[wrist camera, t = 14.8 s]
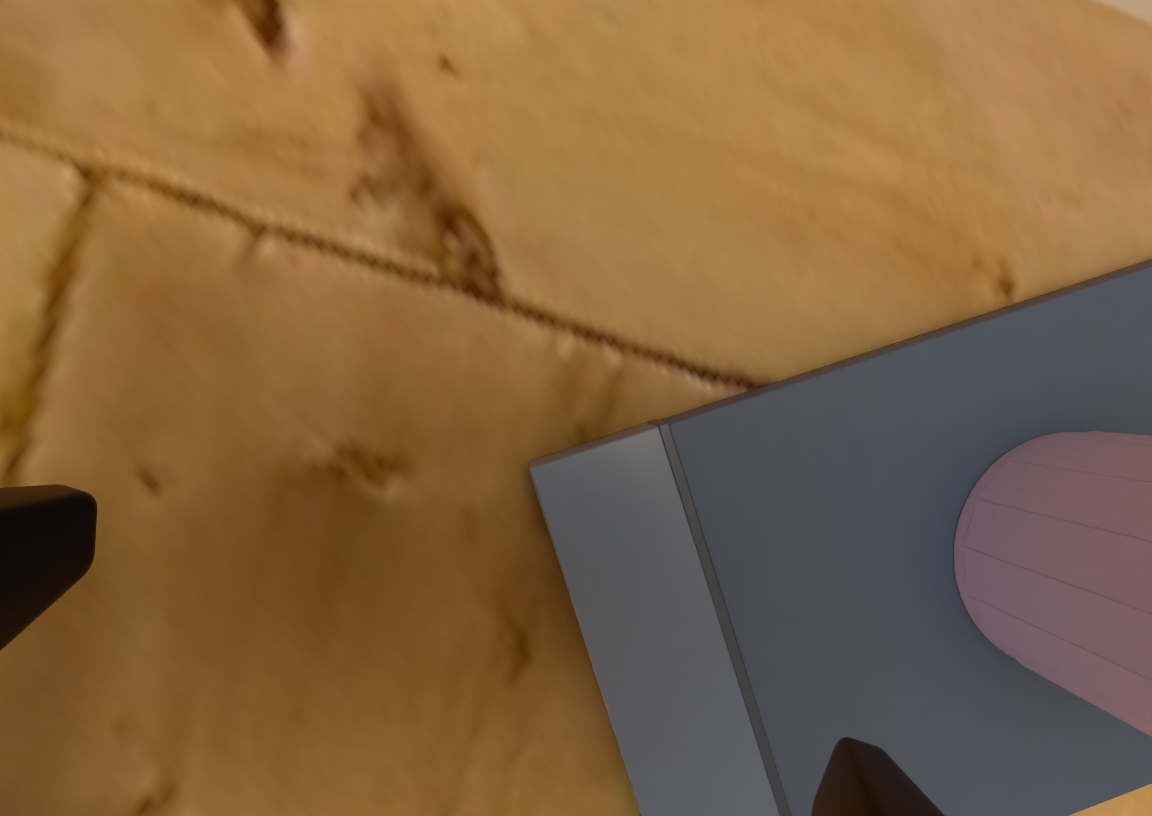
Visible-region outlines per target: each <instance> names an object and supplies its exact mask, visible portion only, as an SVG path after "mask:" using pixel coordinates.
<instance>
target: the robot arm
mask: <svg viewBox="0 0 1152 816" xmlns="http://www.w3.org/2000/svg"><path fill="white" fill-rule="evenodd" d="M96 521H97V504H96V501H95V499H94V497H93V496H92V495H91V494H89V493H87V492H84V491H81V490H78V489H74V488H71V487H68V486H65V485H40V486H26V487H11V488H0V651H1V650H2V649H3V648H4V647H5V646H6V645H7V644H8V643H10V642H11V641H12V640H13V639H14V638H15V637H16V636H17V635H18V634H20V633H21V632H22V631H23V630H24V629H25V628H26V627H27V626H29V625H30V624H31V623H32V622H33V621H34V620H35V619H36V618H37V617H39V616H40V615H41V614H42V613H43V612H44V611H45V610H46V609H47V608H49V607H50V606H51V605H52V604H53V603H54V602H55V601H56V600H57V599H59V598H60V597H61V596H62V595H63V594H64V593H65V592H66V591H67V590H69V589H70V588H71V587H72V586H73V585H74V584H75V583H76V582H78V581H79V580H80V579H81V578H82V577H83V576H84V575H85V574H86V572H87V571H88V570H89V568H90V566H91V564H92V562H93V559H94V554H95V538H96ZM811 816H945V815H944V814H943V813H942V812H941V811H940V810H939V809H938V808H937V806H936V805H935V804H934V803H933V802H932V801H931V800H930V799H929V798H928V797H927V796H926V795H925V794H924V793H923V792H922V790H921V789H920V788H919V787H918V786H917V785H916V784H915V783H914V782H913V781H912V780H911V779H910V778H909V777H908V775H907V774H906V773H905V772H904V771H903V770H902V769H901V768H900V767H899V766H898V765H897V764H896V763H895V762H894V760H893V759H892V758H891V757H890V756H889V755H888V754H887V753H886V752H885V751H884V750H883V749H881V748H880V747H878V746H875V745H872V744H869V743H866V742H862V741H859V740H856V739H853V738H850V737H844V738H842V739H840V740H839V741H838V742H837V744H836V745H835V747H834V750H833V752H832V755H831V757H830V760H829V762H828V765H827V767H826V770H825V772H824V775H823V777H822V780H821V783H820V785H819V788H818V790H817V793H816V795H815V798H814V802H813V807H812V813H811Z"/></svg>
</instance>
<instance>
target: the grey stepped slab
mask: <svg viewBox="0 0 1152 816" xmlns="http://www.w3.org/2000/svg"><path fill="white" fill-rule="evenodd" d="M1091 431H1098V432H1111V433H1124V434H1136V435H1149V436H1152V259H1151V260H1148V261H1145V262H1142V263H1139V264H1136V265H1133V266H1130V267H1127V268H1124V269H1120V270H1117V271H1114V272H1111V273H1108V274H1105V275H1102V276H1099V277H1096V278H1093V279H1090V280H1087V281H1084V282H1081V283H1078V284H1075V285H1072V286H1069V287H1065V288H1062V289H1059V290H1056V291H1053V292H1050V293H1047V294H1044V295H1041V296H1038V297H1035V298H1032V299H1029V300H1026V301H1023V302H1020V303H1017V304H1014V305H1011V306H1007V307H1004V308H1001V309H998V310H995V311H992V312H989V313H986V314H983V315H980V316H977V317H974V318H971V319H968V320H965V321H962V322H959V323H956V324H952V325H949V326H946V327H943V328H940V329H937V330H934V331H931V332H928V333H925V334H922V335H919V336H916V337H913V338H910V339H907V340H904V341H901V342H898V343H894V344H891V345H888V346H885V347H882V348H879V349H876V350H873V351H870V352H867V353H864V354H861V355H858V356H855V357H852V358H849V359H846V360H843V361H839V362H836V363H833V364H830V365H827V366H824V367H821V368H818V369H815V370H812V371H809V372H806V373H803V374H800V375H797V376H794V377H791V378H788V379H784V380H781V381H778V382H775V383H772V384H769V385H766V386H763V387H760V388H757V389H754V390H751V391H748V392H745V393H742V394H739V395H736V396H733V397H730V398H726V399H723V400H720V401H717V402H714V403H711V404H708V405H705V406H702V407H699V408H696V409H693V410H690V411H687V412H684V413H681V414H678V415H675V416H671V417H668V418H665V419H662V420H657V419H655V420H652V421H649V422H647V423H644V424H641V425H638V426H635V427H632V428H629V429H626V430H623V431H620V432H617V433H614V434H611V435H608V436H605V437H602V438H599V439H595V440H592V441H589V442H586V443H583V444H580V445H577V446H574V447H571V448H568V449H565V450H562V451H559V452H556V453H553V454H550V455H547V456H543V457H540V458H537V459H534V460H531V461H529V462H528V468H529V472H530V476H531V479H532V482H533V485H534V488H535V491H536V494H537V497H538V500H539V503H540V506H541V509H542V513H543V516H544V519H545V522H546V525H547V528H548V531H549V534H550V537H551V540H552V543H553V546H554V549H555V553H556V556H557V559H558V562H559V565H560V568H561V571H562V574H563V577H564V580H565V583H566V586H567V590H568V593H569V596H570V599H571V602H572V605H573V608H574V611H575V614H576V617H577V620H578V623H579V627H580V630H581V633H582V636H583V639H584V642H585V645H586V648H587V651H588V654H589V657H590V660H591V664H592V667H593V670H594V673H595V676H596V679H597V682H598V685H599V688H600V691H601V694H602V697H603V700H604V704H605V707H606V710H607V713H608V716H609V719H610V722H611V725H612V728H613V731H614V734H615V737H616V741H617V744H618V747H619V750H620V753H621V756H622V759H623V762H624V765H625V768H626V771H627V774H628V778H629V781H630V784H631V787H632V790H633V793H634V796H635V799H636V802H637V805H638V808H639V811H640V815H641V816H811V813H812V807H813V802H814V798H815V795H816V793H817V790H818V788H819V785H820V783H821V780H822V777H823V775H824V772H825V770H826V767H827V765H828V762H829V760H830V757H831V755H832V752H833V750H834V747H835V745H836V744H837V742H838V741H839V740H840V739H842V738H844V737H850V738H853V739H856V740H859V741H862V742H866V743H869V744H872V745H875V746H878V747H880V748H881V749H883V750H884V751H885V752H886V753H887V754H888V755H889V756H890V757H891V758H892V759H893V760H894V762H895V763H896V764H897V765H898V766H899V767H900V768H901V769H902V770H903V771H904V772H905V773H906V774H907V775H908V777H909V778H910V779H911V780H912V781H913V782H914V783H915V784H916V785H917V786H918V787H919V788H920V789H921V790H922V792H923V793H924V794H925V795H926V796H927V797H928V798H929V799H930V800H931V801H932V802H933V803H934V804H935V805H936V806H937V808H938V809H939V810H940V811H941V812H942V813H943V814H944V815H945V816H1068V815H1071V814H1073V813H1076V812H1078V811H1081V810H1084V809H1086V808H1089V807H1091V806H1094V805H1097V804H1099V803H1102V802H1105V801H1107V800H1110V799H1112V798H1115V797H1118V796H1120V795H1123V794H1125V793H1128V792H1131V791H1133V790H1136V789H1138V788H1141V787H1144V786H1146V785H1149V784H1151V783H1152V737H1151V736H1149V735H1148V734H1146V733H1144V732H1142V731H1140V730H1139V729H1137V728H1135V727H1133V726H1131V725H1129V724H1128V723H1126V722H1124V721H1122V720H1120V719H1119V718H1117V717H1115V716H1113V715H1111V714H1110V713H1108V712H1106V711H1104V710H1102V709H1101V708H1099V707H1097V706H1095V705H1093V704H1091V703H1090V702H1088V701H1086V700H1084V699H1082V698H1081V697H1079V696H1077V695H1075V694H1073V693H1072V692H1070V691H1068V690H1066V689H1064V688H1063V687H1061V686H1059V685H1057V684H1055V683H1053V682H1052V681H1050V680H1048V679H1046V678H1044V677H1043V676H1041V675H1039V674H1037V673H1035V672H1034V671H1032V670H1030V669H1028V668H1026V667H1024V666H1023V665H1022V664H1020V663H1019V662H1018V661H1017V660H1016V659H1014V658H1013V657H1011V656H1009V655H1007V654H1006V653H1004V652H1003V651H1002V650H1000V649H999V648H997V647H996V646H995V645H994V644H993V643H991V642H990V641H989V640H988V639H987V638H986V637H985V636H984V635H983V633H982V632H981V631H980V630H979V628H978V627H977V626H976V625H975V623H974V622H973V620H972V618H971V617H970V615H969V613H968V612H967V610H966V608H965V605H964V603H963V601H962V598H961V596H960V592H959V589H958V585H957V582H956V576H955V569H954V543H955V534H956V530H957V525H958V521H959V518H960V515H961V512H962V509H963V507H964V504H965V502H966V500H967V498H968V496H969V494H970V493H971V491H972V489H973V488H974V486H975V485H976V483H977V482H978V480H979V479H980V477H981V476H982V475H983V474H984V473H985V472H986V471H987V470H988V468H989V467H990V466H991V465H992V464H993V463H995V462H996V461H997V460H998V459H999V458H1000V457H1002V456H1003V455H1004V454H1006V453H1007V452H1009V451H1010V450H1012V449H1013V448H1015V447H1016V446H1019V445H1021V444H1023V443H1025V442H1027V441H1029V440H1031V439H1034V438H1037V437H1040V436H1043V435H1048V434H1053V433H1059V432H1091Z"/></svg>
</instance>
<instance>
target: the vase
mask: <svg viewBox="0 0 1152 816" xmlns="http://www.w3.org/2000/svg"><path fill="white" fill-rule="evenodd" d="M954 569H955V576H956V582H957V585H958V589H959V592H960V596H961V598H962V601H963V603H964V605H965V608H966V610H967V612H968V613H969V615H970V617H971V618H972V620H973V622H974V623H975V625H976V626H977V627H978V628H979V630H980V631H981V632H982V633H983V635H984V636H985V637H986V638H987V639H988V640H989V641H990V642H991V643H993V644H994V645H995V646H996V647H997V648H999V649H1000V650H1002V651H1003V652H1004V653H1006V654H1007V655H1009V656H1011V657H1013V658H1014V659H1016V660H1017V661H1018V662H1019V663H1020V664H1022V665H1023V666H1024V667H1026V668H1028V669H1030V670H1032V671H1034V672H1035V673H1037V674H1039V675H1041V676H1043V677H1044V678H1046V679H1048V680H1050V681H1052V682H1053V683H1055V684H1057V685H1059V686H1061V687H1063V688H1064V689H1066V690H1068V691H1070V692H1072V693H1073V694H1075V695H1077V696H1079V697H1081V698H1082V699H1084V700H1086V701H1088V702H1090V703H1091V704H1093V705H1095V706H1097V707H1099V708H1101V709H1102V710H1104V711H1106V712H1108V713H1110V714H1111V715H1113V716H1115V717H1117V718H1119V719H1120V720H1122V721H1124V722H1126V723H1128V724H1129V725H1131V726H1133V727H1135V728H1137V729H1139V730H1140V731H1142V732H1144V733H1146V734H1148V735H1149V736H1151V737H1152V436H1149V435H1136V434H1124V433H1111V432H1098V431H1091V432H1059V433H1053V434H1048V435H1043V436H1040V437H1037V438H1034V439H1031V440H1029V441H1027V442H1025V443H1023V444H1021V445H1019V446H1016V447H1015V448H1013V449H1012V450H1010V451H1009V452H1007V453H1006V454H1004V455H1003V456H1002V457H1000V458H999V459H998V460H997V461H996V462H995V463H993V464H992V465H991V466H990V467H989V468H988V470H987V471H986V472H985V473H984V474H983V475H982V476H981V477H980V479H979V480H978V482H977V483H976V485H975V486H974V488H973V489H972V491H971V493H970V494H969V496H968V498H967V500H966V502H965V504H964V507H963V509H962V512H961V515H960V518H959V521H958V525H957V530H956V534H955V543H954Z"/></svg>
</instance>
